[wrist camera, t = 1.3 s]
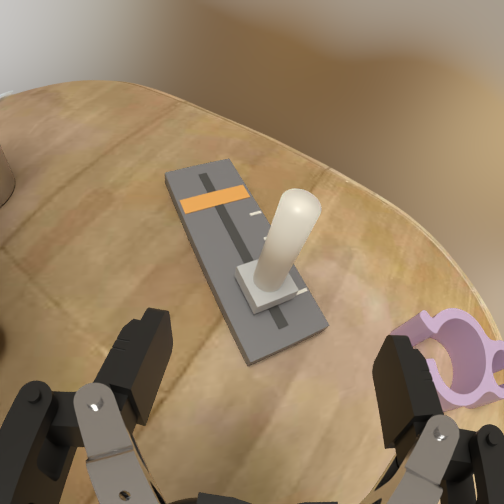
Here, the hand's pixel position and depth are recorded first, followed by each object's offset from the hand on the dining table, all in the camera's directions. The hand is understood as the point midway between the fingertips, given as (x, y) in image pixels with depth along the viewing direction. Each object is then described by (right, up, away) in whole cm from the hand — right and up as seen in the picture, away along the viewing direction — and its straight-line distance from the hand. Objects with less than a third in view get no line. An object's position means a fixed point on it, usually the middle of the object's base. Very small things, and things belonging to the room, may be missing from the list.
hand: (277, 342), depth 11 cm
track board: (-3, +4, +29) cm, 30 cm away
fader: (0, -1, +24) cm, 24 cm away
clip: (+25, -14, +24) cm, 38 cm away
